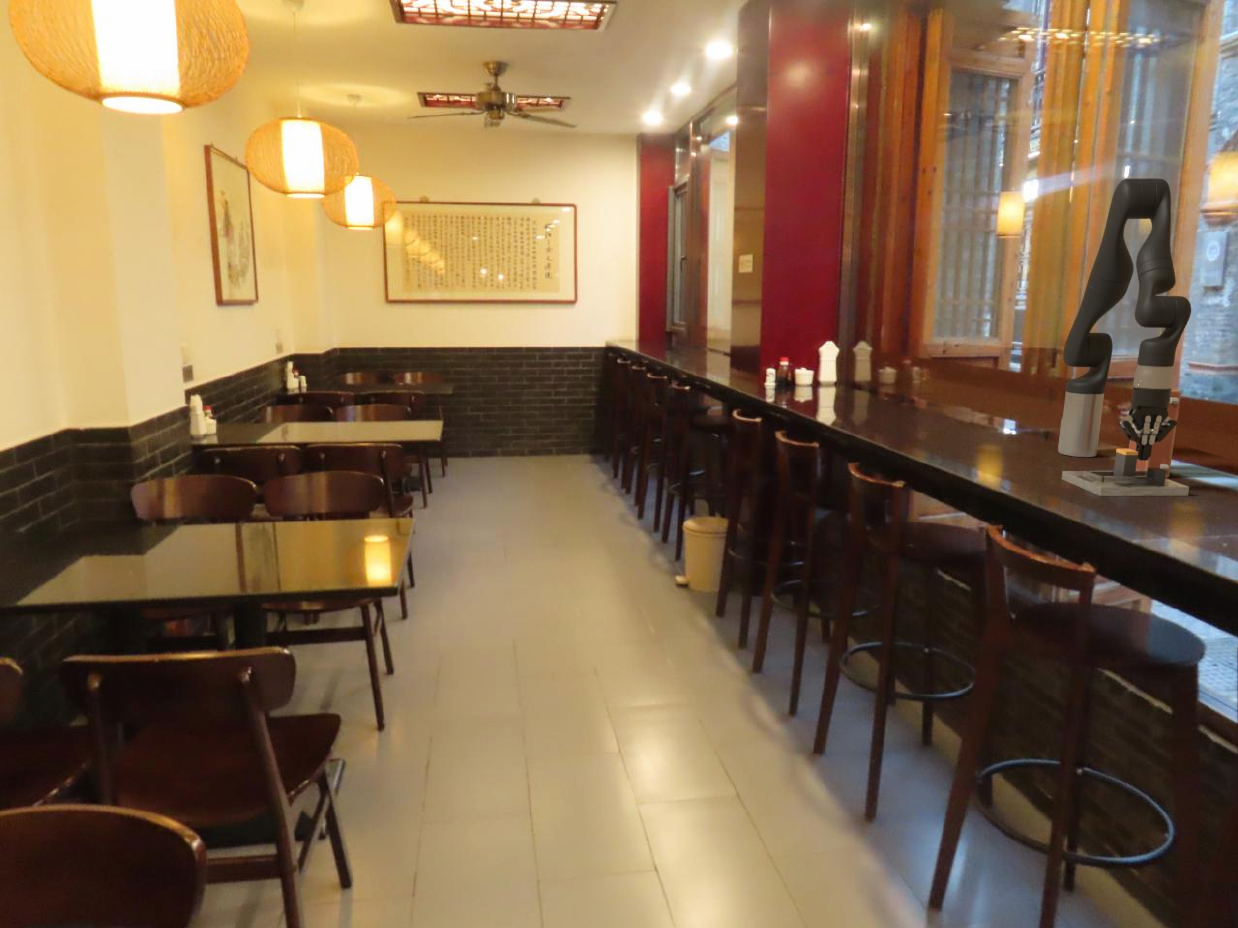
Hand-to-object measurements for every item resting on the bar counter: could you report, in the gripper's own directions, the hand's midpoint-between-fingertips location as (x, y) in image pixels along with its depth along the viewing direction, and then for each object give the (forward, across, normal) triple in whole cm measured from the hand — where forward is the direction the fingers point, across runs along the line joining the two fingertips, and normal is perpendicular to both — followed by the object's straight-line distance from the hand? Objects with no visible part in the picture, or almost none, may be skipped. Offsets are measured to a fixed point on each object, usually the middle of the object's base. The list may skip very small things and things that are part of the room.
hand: (1142, 459), depth 196 cm
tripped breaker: (+4, +4, 0) cm, 5 cm away
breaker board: (+6, +4, 0) cm, 7 cm away
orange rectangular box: (+7, -12, -16) cm, 21 cm away
